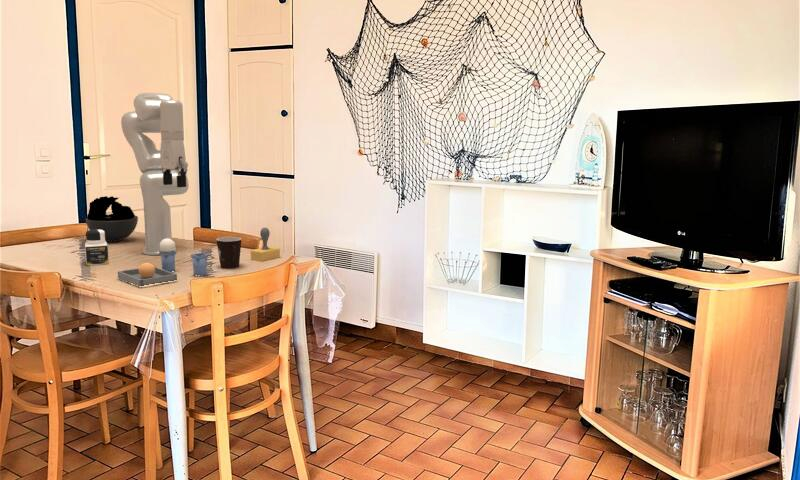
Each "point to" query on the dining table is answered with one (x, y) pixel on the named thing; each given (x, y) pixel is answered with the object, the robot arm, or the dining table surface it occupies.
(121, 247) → the dining table surface
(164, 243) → the ball
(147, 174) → the robot arm
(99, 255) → the medicine bottle
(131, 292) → the dining table surface
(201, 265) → the cup
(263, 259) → the rubber stamp
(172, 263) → the cup
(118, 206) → the coal bowl
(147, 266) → the ball
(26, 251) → the dining table surface
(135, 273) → the tray
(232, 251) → the coffee mug
